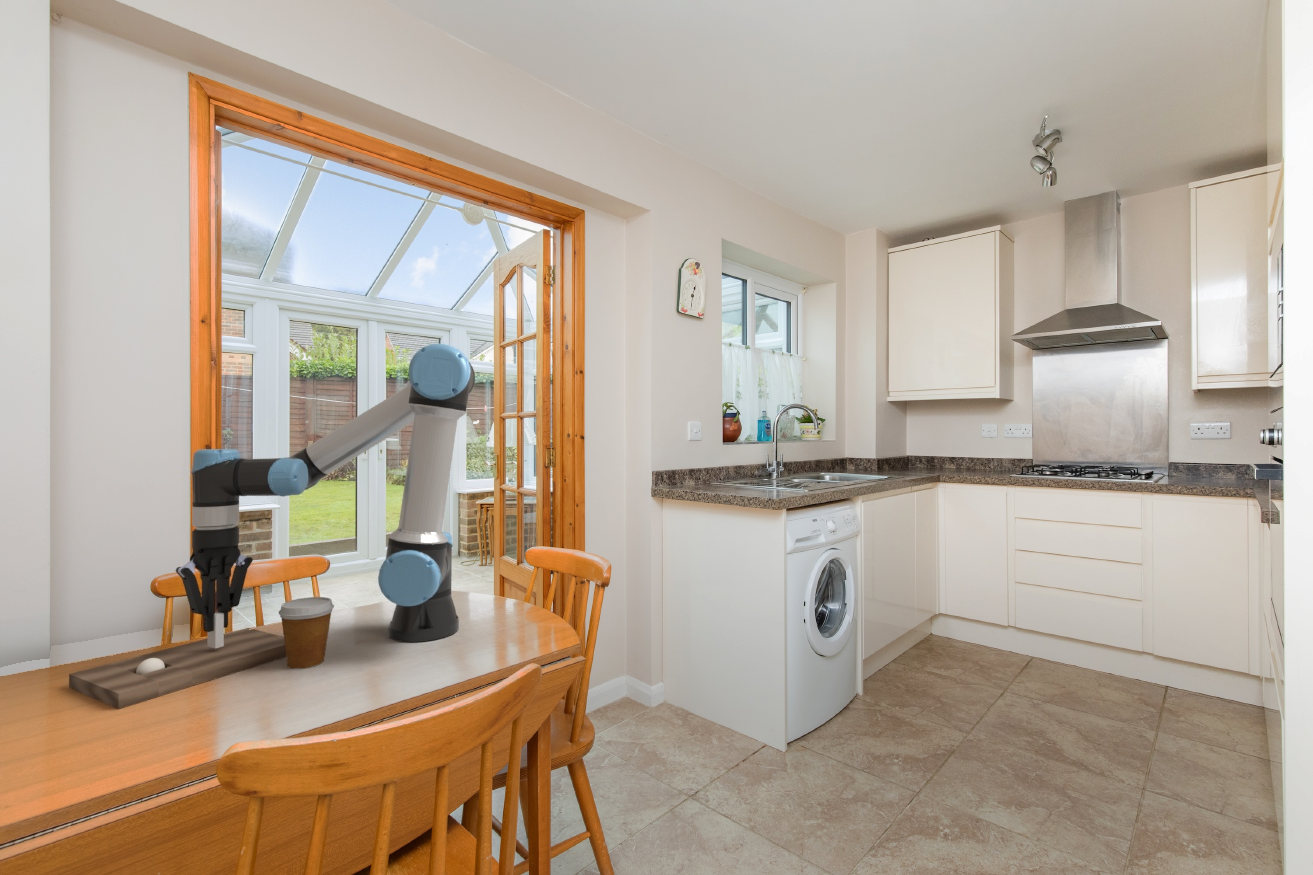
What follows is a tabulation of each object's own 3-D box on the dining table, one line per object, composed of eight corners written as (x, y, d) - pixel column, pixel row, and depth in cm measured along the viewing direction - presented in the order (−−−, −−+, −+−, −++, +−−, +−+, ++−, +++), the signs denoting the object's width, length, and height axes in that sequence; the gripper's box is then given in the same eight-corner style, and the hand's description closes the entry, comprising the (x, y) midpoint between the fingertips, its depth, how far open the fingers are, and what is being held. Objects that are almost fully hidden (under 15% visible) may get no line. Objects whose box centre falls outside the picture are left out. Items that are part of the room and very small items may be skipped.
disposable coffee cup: (308, 673, 113) (309, 610, 113) (265, 669, 115) (266, 607, 115) (344, 656, 123) (344, 597, 123) (304, 652, 124) (304, 595, 125)
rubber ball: (168, 679, 110) (166, 660, 109) (140, 689, 107) (138, 670, 106) (162, 668, 113) (160, 650, 112) (134, 678, 110) (132, 659, 109)
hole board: (298, 652, 125) (299, 640, 125) (118, 708, 98) (118, 693, 98) (248, 639, 133) (248, 627, 133) (68, 687, 106) (69, 673, 106)
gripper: (239, 521, 126) (239, 633, 126) (167, 529, 114) (166, 653, 114) (261, 523, 123) (261, 639, 123) (189, 532, 111) (188, 659, 111)
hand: (215, 646), depth 118 cm, fingers closed
